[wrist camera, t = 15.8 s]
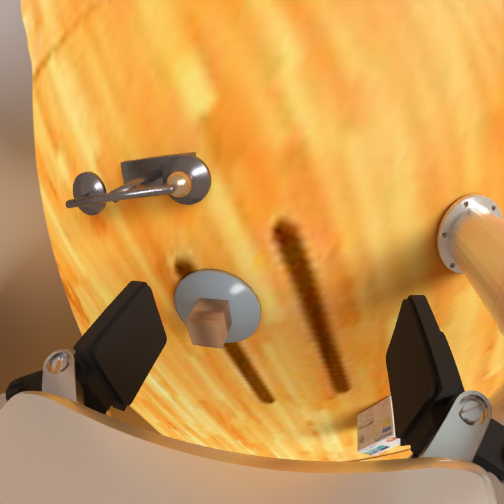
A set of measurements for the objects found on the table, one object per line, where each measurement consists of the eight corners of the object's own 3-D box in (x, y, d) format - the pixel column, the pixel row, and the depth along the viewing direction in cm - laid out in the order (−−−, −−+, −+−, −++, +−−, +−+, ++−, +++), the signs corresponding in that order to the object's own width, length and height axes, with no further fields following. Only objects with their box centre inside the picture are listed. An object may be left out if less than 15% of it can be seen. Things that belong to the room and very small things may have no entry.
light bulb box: (373, 420, 57) (374, 456, 48) (355, 414, 57) (355, 452, 47) (406, 401, 52) (411, 440, 43) (389, 394, 51) (393, 435, 42)
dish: (258, 271, 43) (257, 275, 42) (263, 342, 50) (261, 346, 49) (168, 266, 46) (165, 270, 45) (186, 333, 53) (184, 337, 52)
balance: (222, 146, 35) (181, 164, 24) (226, 189, 38) (190, 226, 27) (105, 161, 39) (47, 185, 28) (112, 196, 42) (59, 228, 31)
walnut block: (228, 300, 45) (217, 324, 40) (231, 323, 47) (222, 348, 42) (199, 297, 46) (185, 321, 41) (204, 320, 48) (192, 344, 43)
